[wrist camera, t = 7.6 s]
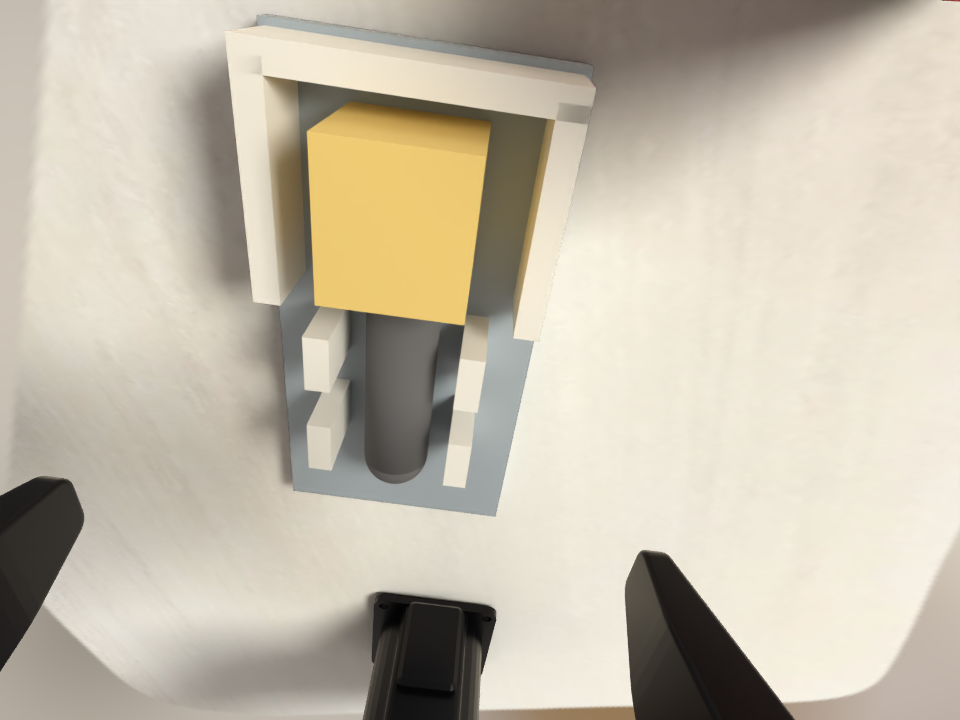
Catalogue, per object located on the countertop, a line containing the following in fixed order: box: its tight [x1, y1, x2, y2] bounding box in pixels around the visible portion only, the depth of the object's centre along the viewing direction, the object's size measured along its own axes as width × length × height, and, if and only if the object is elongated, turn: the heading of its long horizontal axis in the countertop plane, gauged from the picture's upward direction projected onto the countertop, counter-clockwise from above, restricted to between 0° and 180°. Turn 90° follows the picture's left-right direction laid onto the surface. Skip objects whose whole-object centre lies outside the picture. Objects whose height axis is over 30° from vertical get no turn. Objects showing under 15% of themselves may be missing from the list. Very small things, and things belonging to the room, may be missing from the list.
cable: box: [307, 101, 492, 484], centre depth 18 cm, size 13×4×4 cm, turn 173°
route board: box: [224, 14, 596, 516], centre depth 19 cm, size 18×9×4 cm, turn 172°
